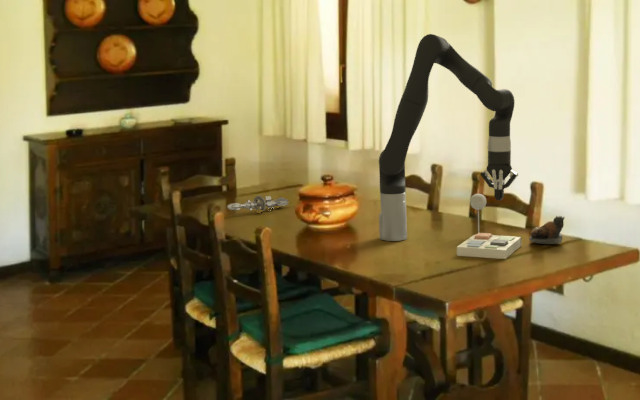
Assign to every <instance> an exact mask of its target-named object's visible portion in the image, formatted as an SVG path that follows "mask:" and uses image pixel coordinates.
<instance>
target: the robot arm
mask: <svg viewBox="0 0 640 400" xmlns="http://www.w3.org/2000/svg"><path fill="white" fill-rule="evenodd" d="M413 59H414V60H413V64H412V67H411V71H410V74H409V76H408V79H407V81H406V82H407V83H406V86H405V88H404V90H403V92H402V95H401V98H400V101H399V104H398V106H397V109H396V112H395V113H396V114H395V117H394V121H393V126H392V130H391V134H390V136H389V139H388V141H387V142H386V143H387V144H386V146H385V148H384V149H383V150H382V151H381V153H380V154H379V158H378V166H379V167H378V168H379V170H378V172H379V193H380V195H379V198H380V213H378V226H379V227H378V228H379V229H378V230H379V240H381V241H382V240H383V241H387V242H398V241H405V240H407V239H408V226H407V225H408V223H407V221H408V220H407V195H406V193H407V192H406V189H407V188H406V164H405V163H406V159H407V155H408V151H409V147H410V144H411V141H412V139H413V136H414V134H415V133H416V131H417V129H418V128H419V127H418V126H419V124H420V123H421V121H422V119H423V118H422V117H423V116H424V113H425V111H426V107H427V105H428V102H429V101H428V99H429V79H430V78H429V77H430V75H431V72H432V70H433V66H434V64H437V65H440V66H441V67H443V68H444V69H447V70H448V71H450V72H451V73H452V74H453V75H454V76H455V77H456V78H457V79H458V81H459V82H460V83H461V84H462V85H463V86H464V87H465V88H466V89H467V90H469V91H470V92H472V94H474V95H475V96H477V99H478V100H479V101H480V102H481V104H482V105H483V106H484V107H485V108H486V109H488V110H489V111H491V112H494V116H493V117H492V118H491V119H489V122H488V141H487V166H486V168H485V170H484V171H482V172H480V176H481V178H482V179H483V180H484V182H485V183H486V184H487V186H488V187H489V188H492V189H493V190H494V191H493V192H494V199H495V201H502V200H503V199H504V198H505V195H504V193H505V189H508V188H509V187H510V186H511V185H512V183H514V181H515V179H517V177H518V176H519V173H517V172H515V171H513V168H512V165H511V161H512V160H511V158H512V157H511V155H512V154H511V153H512V150H511V149H512V145H511V143H512V142H511V121H512V117H513V113H514V109H515V96H514V94H513V92H512V91H511V90H509V89H506V88H501V89H496V88H494V87H493V82H492V80H491V79H490V78H489V77H488V76H487V75H486V74H484V73H483V72H481V70H479V69H478V68H476V67H475V66H473V64H470V63H469V62H468V61H467V60H466V59H465V58H464V57H462V55H460V54H459V52H457V50H455V48H454V47H453V46H452V45H451V44H450V43H449V41H448V40H446V39H445V38H443V37H441V36H439V35H436V34H432V33H428V34H426V35H424V36H423V37H422V38H421V39H420V41H419V43H418V45H417V47H416V51H415V56H414V58H413ZM508 176H509V179H508V180H507V181H506V178H507V177H508Z"/></svg>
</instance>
